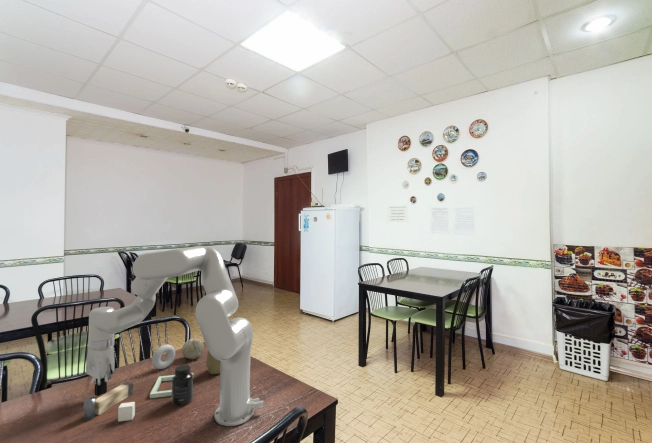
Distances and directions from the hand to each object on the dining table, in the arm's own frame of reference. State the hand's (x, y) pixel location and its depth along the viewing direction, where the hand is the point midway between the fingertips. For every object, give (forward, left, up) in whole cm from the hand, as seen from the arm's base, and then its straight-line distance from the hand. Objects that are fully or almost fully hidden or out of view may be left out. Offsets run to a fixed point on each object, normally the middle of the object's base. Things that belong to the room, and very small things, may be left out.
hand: (100, 393), depth 111 cm
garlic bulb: (-26, -27, -2) cm, 38 cm away
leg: (-6, +5, -2) cm, 7 cm away
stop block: (-13, +15, -2) cm, 20 cm away
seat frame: (-23, -2, -2) cm, 23 cm away
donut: (-16, -19, -2) cm, 25 cm away
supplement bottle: (-28, +9, -2) cm, 30 cm away
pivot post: (-1, +12, -2) cm, 12 cm away
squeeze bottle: (-38, -11, -2) cm, 40 cm away
